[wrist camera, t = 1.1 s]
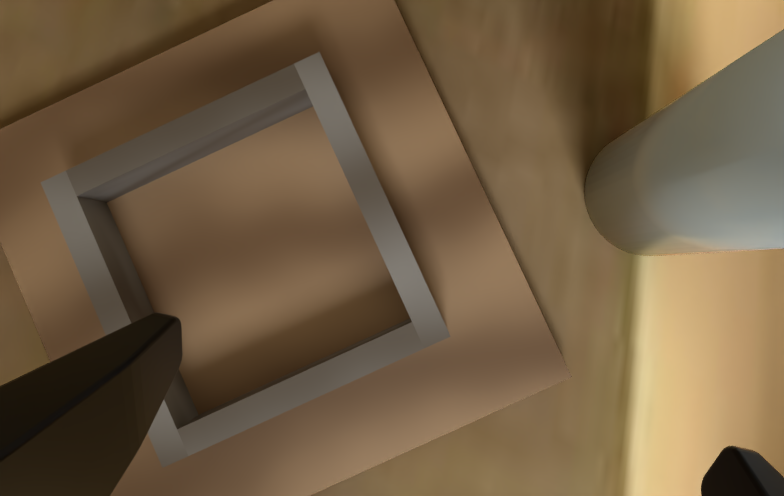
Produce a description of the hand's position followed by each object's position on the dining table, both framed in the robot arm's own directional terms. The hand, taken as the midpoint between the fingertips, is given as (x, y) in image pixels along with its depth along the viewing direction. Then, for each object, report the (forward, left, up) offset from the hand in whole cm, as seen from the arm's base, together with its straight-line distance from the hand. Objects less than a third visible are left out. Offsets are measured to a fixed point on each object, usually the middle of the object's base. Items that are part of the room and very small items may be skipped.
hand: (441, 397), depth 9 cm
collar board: (+5, +5, -13) cm, 15 cm away
